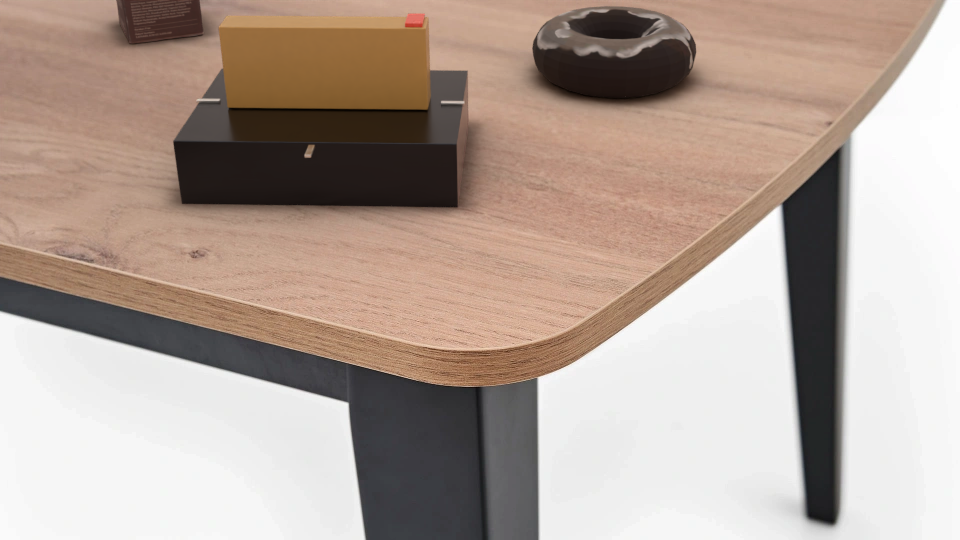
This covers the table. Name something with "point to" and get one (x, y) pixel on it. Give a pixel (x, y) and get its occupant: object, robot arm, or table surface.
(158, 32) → the box
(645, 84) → the donut
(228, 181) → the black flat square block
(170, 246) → the table surface
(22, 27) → the table surface
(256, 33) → the tan slab
